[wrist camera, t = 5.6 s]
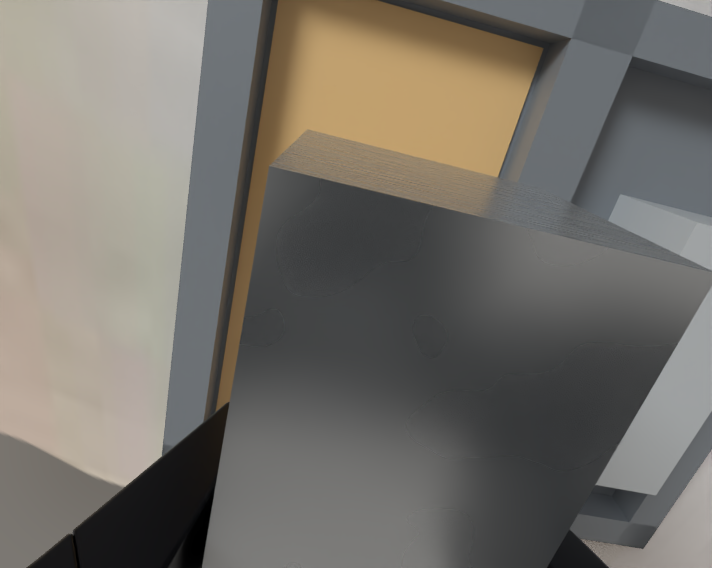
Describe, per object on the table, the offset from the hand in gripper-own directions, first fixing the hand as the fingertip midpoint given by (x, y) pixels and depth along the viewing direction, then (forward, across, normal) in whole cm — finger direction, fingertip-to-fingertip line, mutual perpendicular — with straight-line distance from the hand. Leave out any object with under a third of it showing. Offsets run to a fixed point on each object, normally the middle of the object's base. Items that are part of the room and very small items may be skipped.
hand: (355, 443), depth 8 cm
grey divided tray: (+11, -6, 0) cm, 12 cm away
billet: (+1, 0, 0) cm, 1 cm away
